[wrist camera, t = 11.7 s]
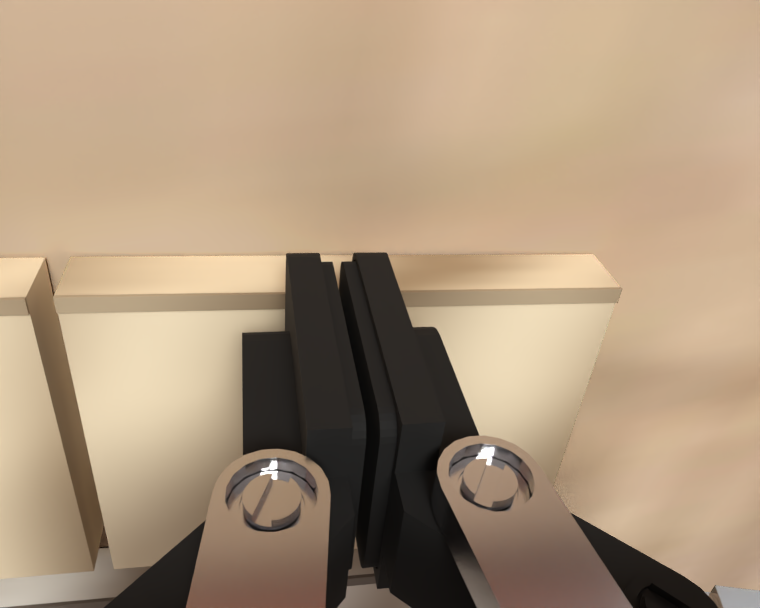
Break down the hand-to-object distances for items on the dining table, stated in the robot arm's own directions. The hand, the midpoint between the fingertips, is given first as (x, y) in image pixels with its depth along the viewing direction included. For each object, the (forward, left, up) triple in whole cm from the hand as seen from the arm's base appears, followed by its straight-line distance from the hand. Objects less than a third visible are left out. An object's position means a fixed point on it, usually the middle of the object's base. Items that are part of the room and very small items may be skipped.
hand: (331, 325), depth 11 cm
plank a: (0, +3, -1) cm, 3 cm away
